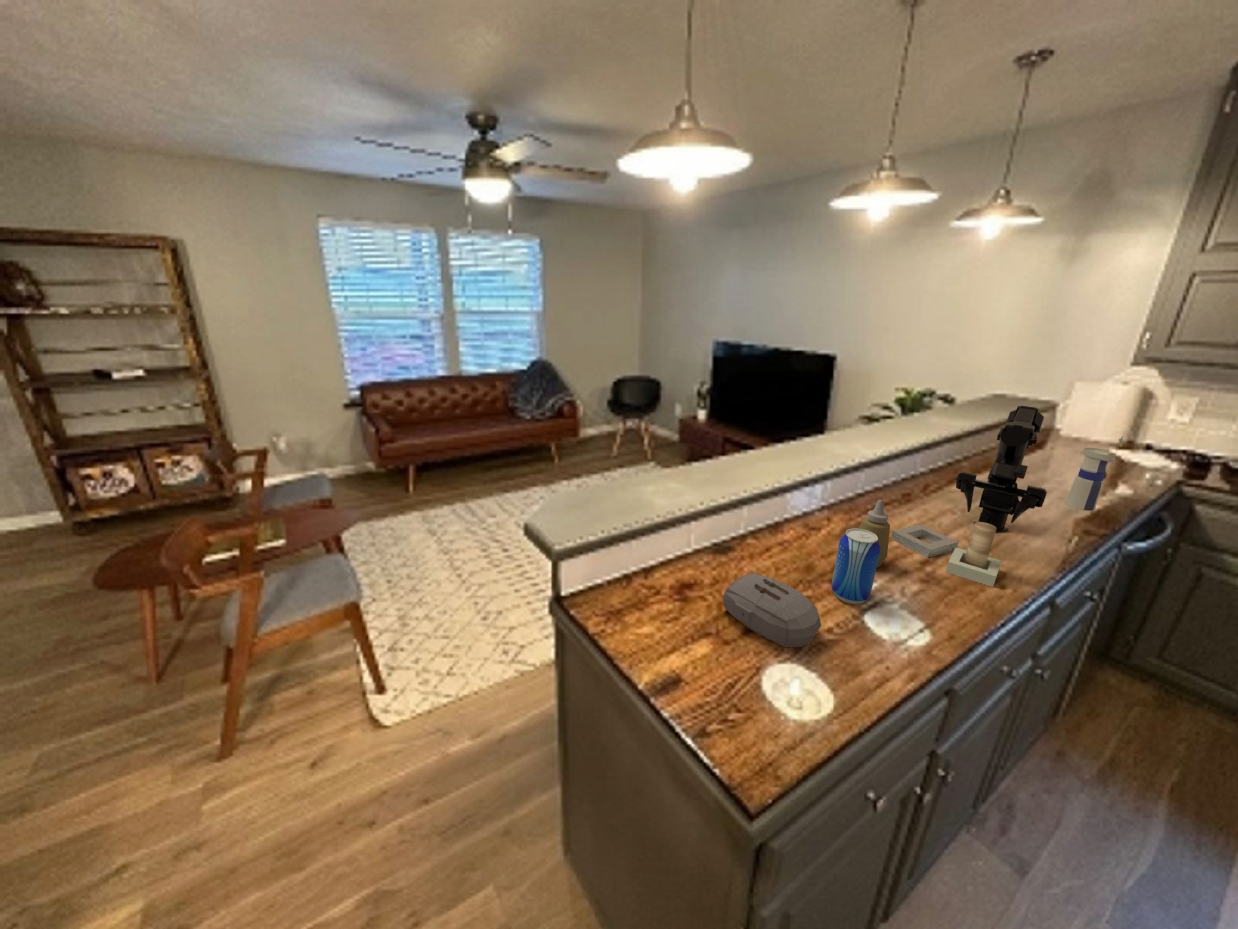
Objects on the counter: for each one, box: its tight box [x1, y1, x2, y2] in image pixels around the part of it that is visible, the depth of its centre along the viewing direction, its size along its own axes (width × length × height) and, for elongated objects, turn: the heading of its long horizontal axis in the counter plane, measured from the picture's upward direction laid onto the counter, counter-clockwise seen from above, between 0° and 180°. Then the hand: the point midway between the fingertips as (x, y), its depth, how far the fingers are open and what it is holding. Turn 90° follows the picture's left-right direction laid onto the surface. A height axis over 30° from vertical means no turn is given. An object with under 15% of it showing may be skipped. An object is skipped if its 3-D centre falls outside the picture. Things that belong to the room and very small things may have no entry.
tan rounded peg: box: [963, 521, 997, 569], centre depth 125 cm, size 4×4×13 cm
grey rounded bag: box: [722, 572, 822, 648], centre depth 106 cm, size 15×8×20 cm
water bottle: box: [1064, 436, 1125, 512], centre depth 162 cm, size 8×9×25 cm
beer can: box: [830, 527, 881, 605], centre depth 114 cm, size 8×8×16 cm
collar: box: [945, 547, 1002, 588], centre depth 126 cm, size 10×10×3 cm
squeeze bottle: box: [859, 499, 891, 569], centre depth 127 cm, size 8×8×18 cm
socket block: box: [890, 524, 959, 559], centre depth 140 cm, size 12×12×2 cm
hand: (989, 516), depth 127 cm, fingers open, 9 cm apart
